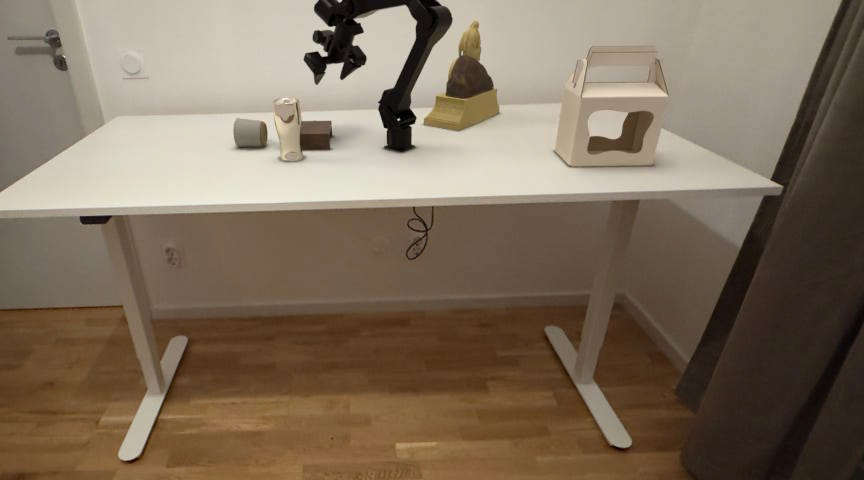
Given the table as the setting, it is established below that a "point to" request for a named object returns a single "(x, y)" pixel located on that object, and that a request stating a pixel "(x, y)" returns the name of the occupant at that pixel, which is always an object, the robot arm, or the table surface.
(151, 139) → the table surface
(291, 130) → the beer glass
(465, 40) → the tan and brown statue
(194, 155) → the table surface
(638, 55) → the gable box
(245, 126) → the ceramic mug
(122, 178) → the table surface
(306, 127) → the desk shelf
